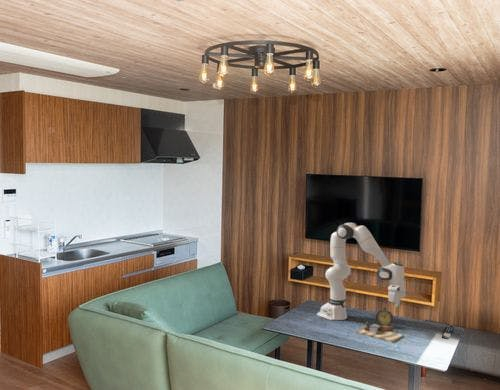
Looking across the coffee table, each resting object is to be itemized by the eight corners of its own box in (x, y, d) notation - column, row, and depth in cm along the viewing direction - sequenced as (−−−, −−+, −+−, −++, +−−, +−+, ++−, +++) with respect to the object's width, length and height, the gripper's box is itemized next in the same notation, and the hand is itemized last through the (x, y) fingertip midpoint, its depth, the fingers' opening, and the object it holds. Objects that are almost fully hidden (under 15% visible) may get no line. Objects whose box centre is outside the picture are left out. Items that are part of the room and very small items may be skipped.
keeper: (369, 332, 319) (369, 326, 319) (373, 330, 324) (373, 323, 324) (376, 334, 316) (376, 327, 315) (380, 331, 321) (380, 325, 320)
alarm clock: (375, 326, 335) (376, 303, 334) (377, 323, 340) (378, 301, 339) (391, 328, 330) (392, 305, 329) (393, 326, 335) (393, 303, 334)
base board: (356, 333, 321) (356, 331, 321) (367, 327, 333) (367, 325, 333) (393, 342, 304) (393, 340, 304) (403, 336, 316) (403, 334, 315)
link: (364, 330, 322) (364, 323, 322) (363, 328, 327) (363, 320, 326) (393, 331, 320) (393, 324, 320) (392, 329, 325) (392, 322, 324)
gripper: (399, 282, 337) (399, 302, 337) (386, 288, 321) (386, 308, 322) (408, 284, 332) (407, 303, 333) (395, 289, 317) (395, 310, 318)
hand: (397, 306), depth 327 cm, fingers closed
